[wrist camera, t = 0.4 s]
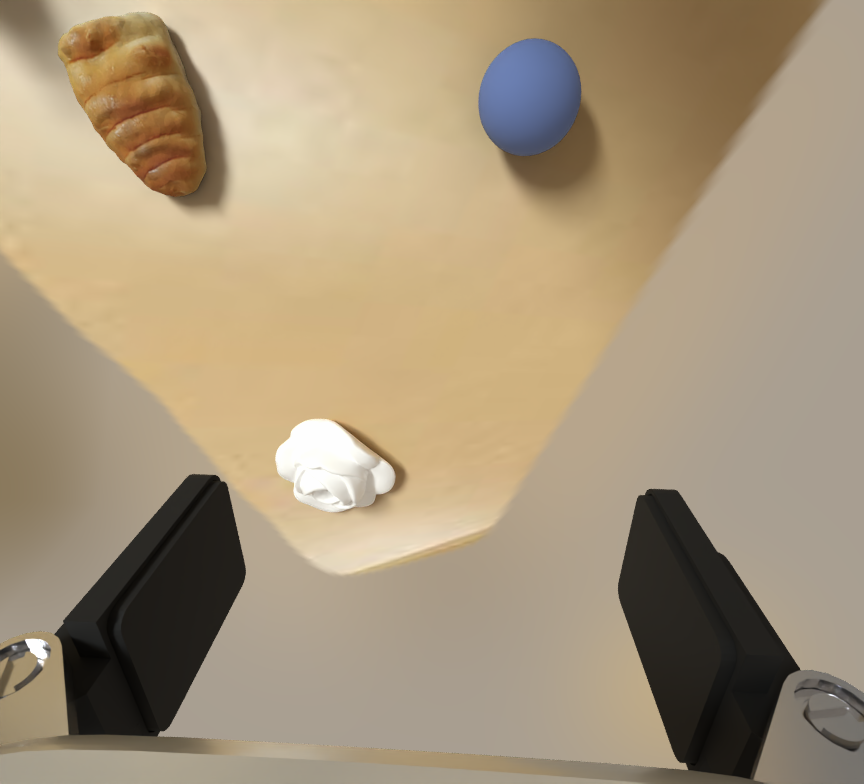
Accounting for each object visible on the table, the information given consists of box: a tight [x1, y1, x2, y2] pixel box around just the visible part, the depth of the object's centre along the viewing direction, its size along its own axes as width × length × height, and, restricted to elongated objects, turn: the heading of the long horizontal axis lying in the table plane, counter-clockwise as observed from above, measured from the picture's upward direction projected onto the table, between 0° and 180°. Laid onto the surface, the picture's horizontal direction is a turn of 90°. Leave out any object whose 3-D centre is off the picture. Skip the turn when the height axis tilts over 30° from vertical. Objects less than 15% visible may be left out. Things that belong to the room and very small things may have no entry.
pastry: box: [58, 12, 207, 197], centre depth 29 cm, size 9×7×4 cm
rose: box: [276, 419, 396, 512], centre depth 41 cm, size 10×4×10 cm
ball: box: [479, 39, 581, 156], centre depth 27 cm, size 6×6×6 cm
